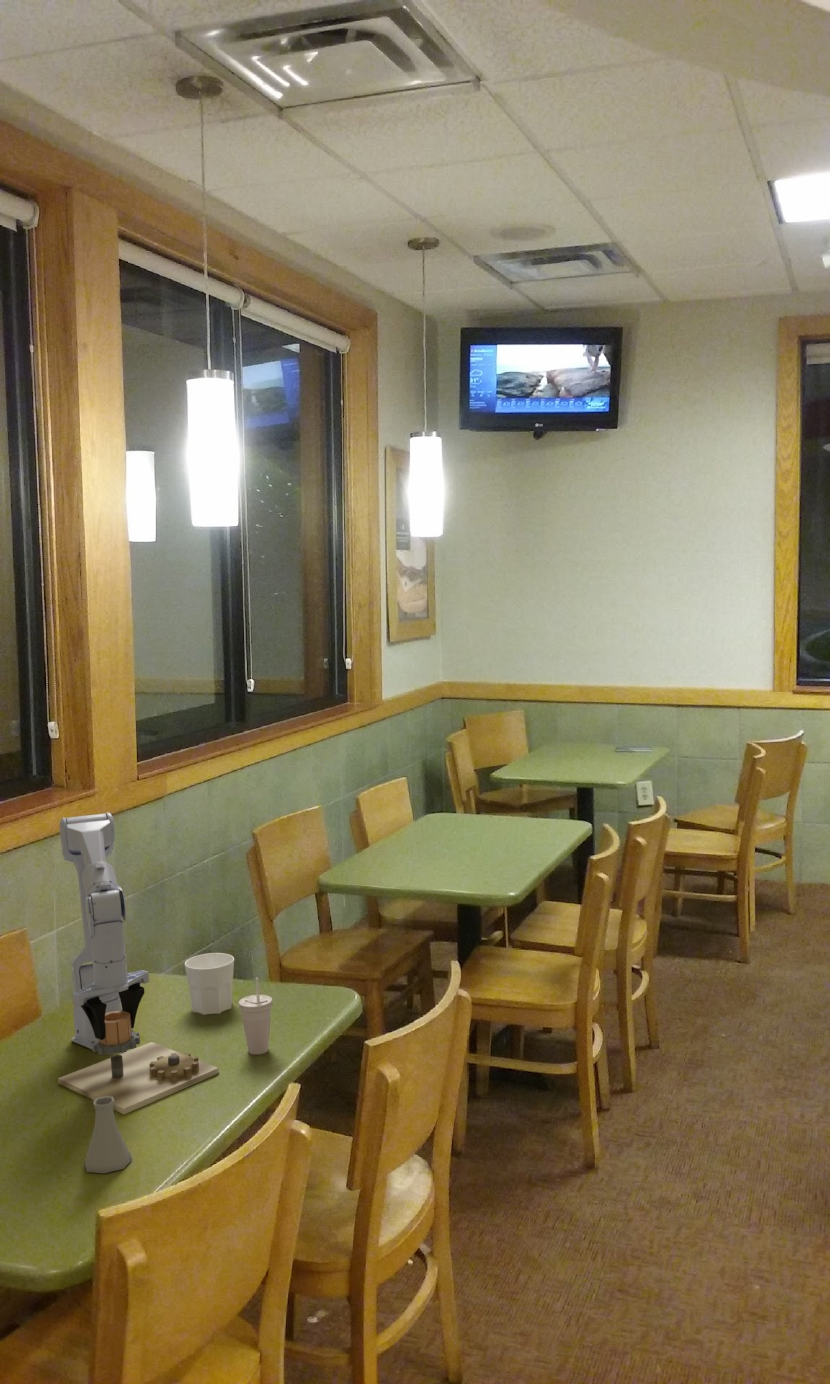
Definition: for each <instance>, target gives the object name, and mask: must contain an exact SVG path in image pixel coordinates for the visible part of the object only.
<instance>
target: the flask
mask: <svg viewBox="0 0 830 1384" xmlns="http://www.w3.org/2000/svg"><path fill="white" fill-rule="evenodd" d="M114 1102H115V1101H114V1098H113V1097H109V1096H105V1097H100V1098H97V1099H96V1100H92V1104H93V1107H94V1109H95V1118H94V1127H93V1130H92V1134H91V1139H90V1141H89V1142H90V1143H89V1145H88V1149H87V1152H86V1155H85V1159H84V1162H83V1164H84V1165H83V1166H84V1168H85V1171H86V1173H94V1174H96V1173H97V1174H108V1173H111V1172H116V1171H121V1170H124V1169H125V1168H126V1167H127V1166H128V1165H129V1164H130V1163H131V1161H132V1160H133V1159H132V1156H131V1153H130V1150H129V1148H128V1146H127V1144H126V1141H125V1140H124V1138H123V1136H122V1133H121V1131H120V1129H119V1127H118V1124H117V1121H116V1118H115V1114H114V1110H113V1104H114Z"/></svg>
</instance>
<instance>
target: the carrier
mask: <svg viewBox="0 0 830 1384" xmlns="http://www.w3.org/2000/svg"><path fill="white" fill-rule="evenodd" d="M219 1073H220V1072H219V1067H217V1066H214V1065H212V1064H209V1063H206V1062H204V1061H201V1060H199V1057H198V1056H197V1055H195V1056H194V1055H193V1056H191V1053H188V1052H185V1053H184V1054H183V1053H181V1052H179V1051H176V1050H173V1049H171V1048H168V1047H166V1046H164V1045H162V1044H158V1043H155V1042H153V1041H150V1042H148V1043H145V1044H143V1045H139V1046H138V1047H137V1046H136V1048H134V1049H129V1050H127V1052H124V1053H120V1054H119V1053H118V1054H114V1055H111V1056H110V1058H106V1059H103V1060H102V1061H99V1062H97V1063H93V1064H92V1065H89V1066H86V1067H83V1068H82V1069H79V1070H76V1071H74V1072H70V1073H68V1074H65V1075H63V1076H61V1077H58V1079H57V1080H58V1085H61V1086H63V1087H65V1088H68V1089H69V1090H71V1091H74V1092H75V1093H77V1094H79V1095H81V1096H84V1097H86V1098H88V1099H90V1100H92V1101H94V1100H96V1099H97V1098H100V1097H105V1096H109V1097H113V1098H114V1101H115V1102H114V1104H113V1111H116V1112H118V1113H120V1114H121V1115H126V1114H129V1113H131V1112H133V1111H137V1110H138V1109H140V1108H142V1107H145V1106H147V1105H149V1104H152V1103H154V1102H157V1101H158V1100H161V1099H163V1098H166V1097H167V1096H170V1095H172V1094H175V1093H176V1092H180V1091H181V1090H184V1089H185V1088H186V1089H187V1088H189V1087H190V1086H192V1085H193V1086H194V1085H196V1084H197V1083H198V1084H199V1083H200V1082H202V1081H204V1080H206V1079H209V1078H211V1077H213V1076H217V1075H219Z"/></svg>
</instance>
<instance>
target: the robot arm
mask: <svg viewBox="0 0 830 1384" xmlns="http://www.w3.org/2000/svg"><path fill="white" fill-rule="evenodd" d="M115 832H116V831H115V823H114V817H113V815H112V814H111V813H110V812H109V811H107V812H105V813H97V814H90V815H89V814H88V815H79V816H71V817H70V816H69V817H64V816H63V817H62V818H61V819H60V820H59V835H60V836H59V837H60V844H61V852H62V856H63V859H64V861H67V862H70V863H72V864H73V865H74V867H75V870H76V873H77V880H78V882H77V883H78V888H79V889H78V891H79V900H80V910H81V919H82V920H81V921H82V929H83V942H84V947H83V948H82V949H81V950H80V951H78V953H77V954H75V956H74V957H73V959H72V961H71V976H72V977H71V979H72V990H73V992H72V993H71V999H72V1001H71V1002H72V1005H73V1008H72V1011H73V1012H72V1013H73V1023H74V1024H73V1025H74V1026H73V1027H74V1036H73V1037H71V1041H72V1042H74V1043H76V1044H78V1045H81V1046H83V1047H85V1048H87V1049H90V1050H92V1042H91V1041H92V1039H96V1038H98V1039H100V1040H103V1039H105V1013H108V1012H111V1011H126V1012H128V1013H130V1018H131V1030H133V1029H134V1027H135V1022H136V1017H137V1013H138V1009H139V1006H140V1003H141V1001H142V999H143V997H144V995H145V987H143V986H141V984H148V983H150V976H149V974H150V972H149V971H147V970H143V969H141V970H137V971H133V972H128V969H127V967H128V965H127V954H126V953H127V952H126V938H125V924H124V922H125V921H126V919H127V905H126V899H125V893H124V891H123V889H122V887H121V886H120V885H119V884H118V881H117V876H116V871H115V869H114V867H113V866H112V865H111V864H110V863H109V862H107V861H106V860H107V859H106V858H107V857H108V856H110V855H112V852H113V851H112V850H113V849H114V844H115V843H114V842H115V840H116V835H115V834H116V833H115ZM122 919H123V920H122ZM88 962H92V963H89V964H85V963H88ZM83 964H84V965H83Z"/></svg>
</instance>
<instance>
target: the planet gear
mask: <svg viewBox="0 0 830 1384" xmlns="http://www.w3.org/2000/svg"><path fill="white" fill-rule="evenodd" d="M91 1042H92V1049H91V1051H92V1053H97V1055H101V1056H102V1055H104V1054H105V1055H106V1054H107V1055H109V1056H114V1055H116V1054H119V1053H120V1054H122V1053H125V1052H127V1051H130V1050H132V1049H135V1048H137V1045H140V1043H141V1037H140V1032H138V1031H134V1029H131V1018H130V1013H128V1012H126V1011H122V1010H121V1011H111V1012H108V1013H105V1039H103V1040H100V1039H98V1038H96V1039H92V1041H91Z"/></svg>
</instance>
